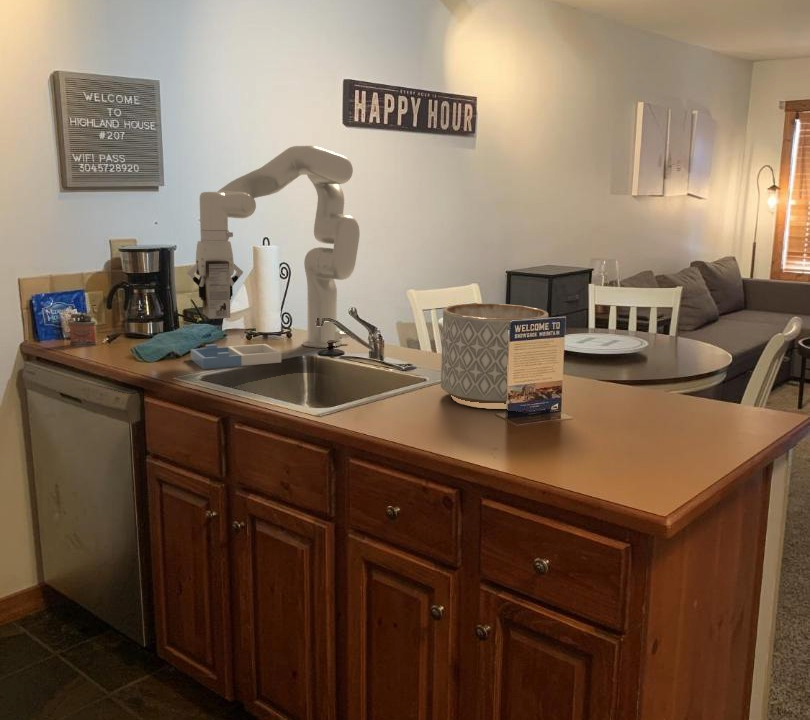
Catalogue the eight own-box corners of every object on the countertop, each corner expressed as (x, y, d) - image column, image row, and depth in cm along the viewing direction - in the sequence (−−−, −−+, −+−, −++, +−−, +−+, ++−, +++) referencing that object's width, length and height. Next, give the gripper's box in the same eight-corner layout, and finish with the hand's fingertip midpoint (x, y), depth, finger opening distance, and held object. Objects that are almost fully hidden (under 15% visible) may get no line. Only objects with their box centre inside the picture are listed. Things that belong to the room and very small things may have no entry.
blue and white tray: (265, 353, 245) (265, 340, 245) (281, 362, 233) (281, 349, 233) (190, 359, 235) (190, 345, 234) (203, 368, 223) (202, 355, 222)
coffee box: (201, 314, 231) (200, 258, 228) (224, 313, 234) (222, 258, 230) (208, 319, 223) (206, 261, 220) (231, 318, 226) (229, 261, 222)
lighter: (98, 344, 253) (96, 312, 251) (94, 346, 250) (93, 314, 248) (72, 343, 253) (70, 312, 250) (68, 345, 249) (66, 314, 247)
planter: (468, 417, 182) (472, 321, 177) (424, 390, 205) (426, 305, 200) (563, 408, 191) (569, 317, 187) (510, 383, 215) (515, 302, 210)
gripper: (240, 235, 231) (241, 296, 235) (180, 235, 223) (182, 299, 227) (248, 237, 225) (249, 300, 228) (186, 237, 216) (188, 302, 220)
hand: (215, 299), depth 228 cm, fingers closed on coffee box, 6 cm apart
